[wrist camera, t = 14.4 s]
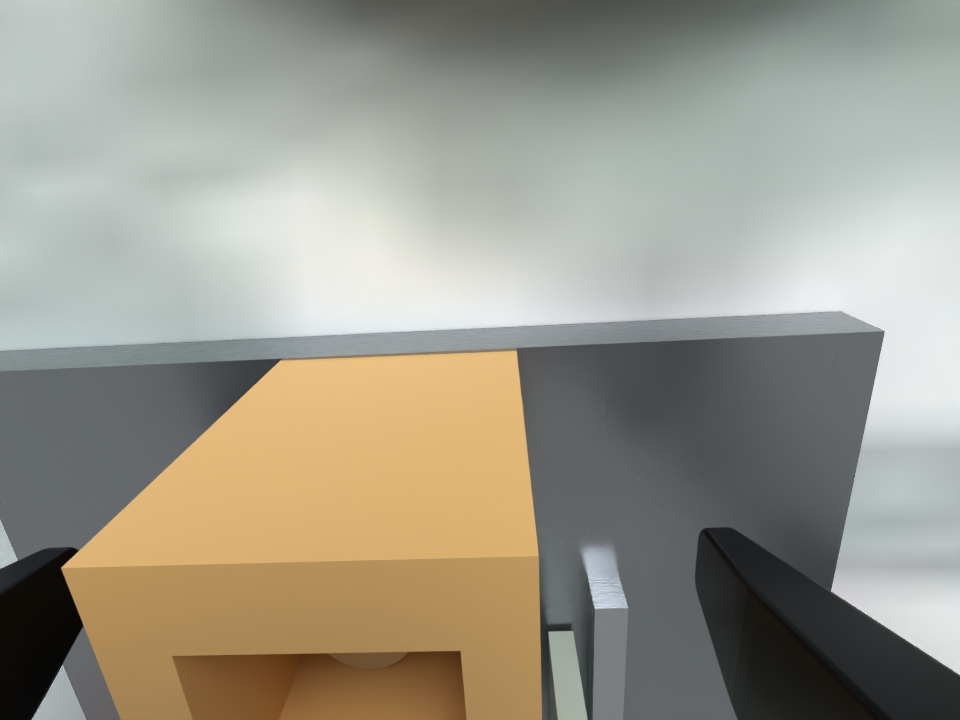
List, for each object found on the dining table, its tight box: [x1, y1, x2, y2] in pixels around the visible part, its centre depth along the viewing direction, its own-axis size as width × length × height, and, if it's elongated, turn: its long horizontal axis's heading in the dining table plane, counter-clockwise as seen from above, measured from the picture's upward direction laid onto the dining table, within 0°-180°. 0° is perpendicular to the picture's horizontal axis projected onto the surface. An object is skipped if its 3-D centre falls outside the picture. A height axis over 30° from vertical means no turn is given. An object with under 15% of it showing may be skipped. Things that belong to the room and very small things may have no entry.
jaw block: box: [61, 351, 542, 720], centre depth 8 cm, size 5×4×5 cm
